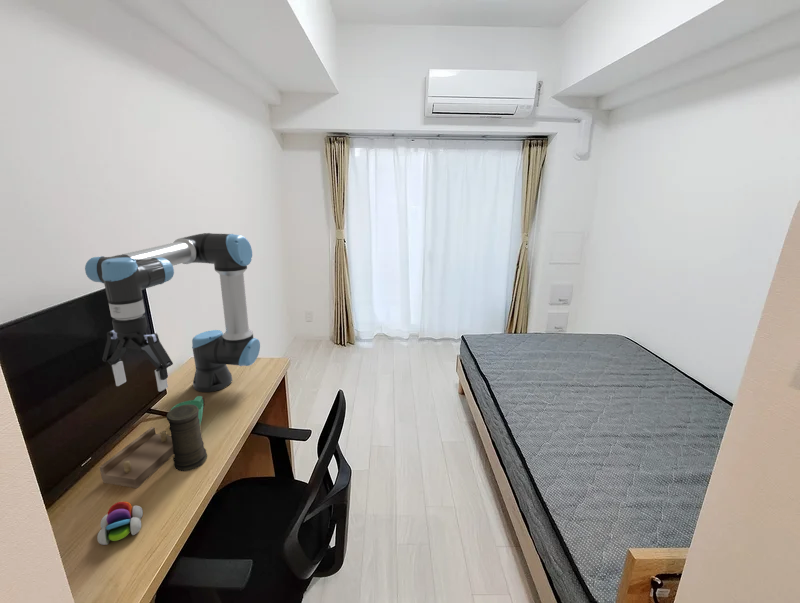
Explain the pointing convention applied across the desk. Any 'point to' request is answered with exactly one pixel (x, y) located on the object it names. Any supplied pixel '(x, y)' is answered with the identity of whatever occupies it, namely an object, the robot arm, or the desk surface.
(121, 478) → the ledge
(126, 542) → the desk surface
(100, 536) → the rainbow striped lobed toy
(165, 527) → the desk surface
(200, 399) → the mug
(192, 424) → the container
